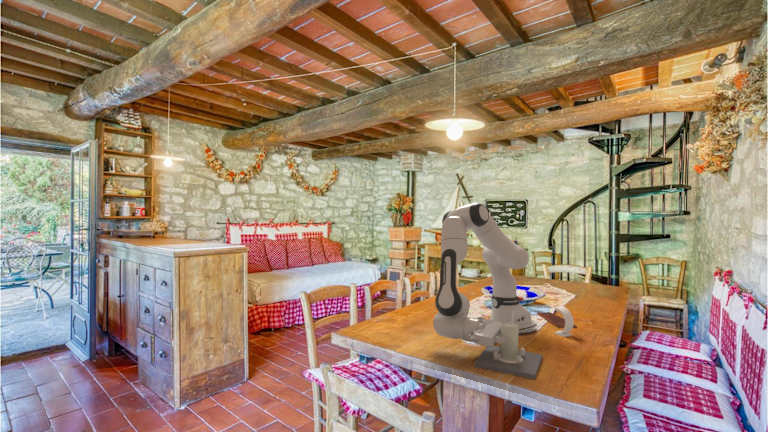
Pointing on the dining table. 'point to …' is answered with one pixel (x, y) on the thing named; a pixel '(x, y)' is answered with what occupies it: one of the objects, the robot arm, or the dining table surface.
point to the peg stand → (510, 362)
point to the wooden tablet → (554, 319)
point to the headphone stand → (568, 321)
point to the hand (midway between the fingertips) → (511, 336)
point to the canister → (511, 348)
